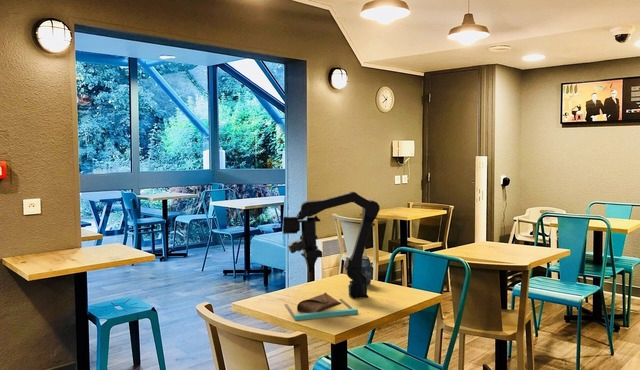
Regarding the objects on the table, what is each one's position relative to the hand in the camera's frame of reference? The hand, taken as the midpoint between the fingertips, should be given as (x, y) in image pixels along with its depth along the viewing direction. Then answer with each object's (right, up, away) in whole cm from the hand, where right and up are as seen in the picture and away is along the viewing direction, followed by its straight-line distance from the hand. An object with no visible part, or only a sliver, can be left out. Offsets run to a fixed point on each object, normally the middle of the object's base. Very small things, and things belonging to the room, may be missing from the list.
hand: (310, 271), depth 213 cm
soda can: (+23, -9, +22) cm, 33 cm away
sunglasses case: (+4, -12, -11) cm, 17 cm away
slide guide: (+4, -12, -14) cm, 19 cm away
